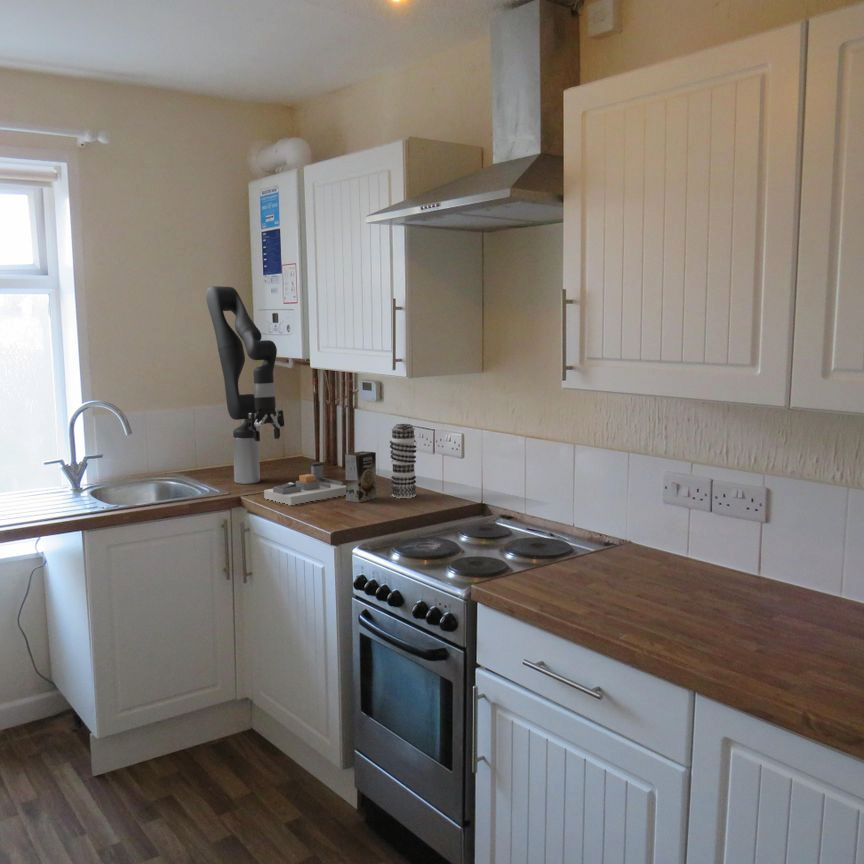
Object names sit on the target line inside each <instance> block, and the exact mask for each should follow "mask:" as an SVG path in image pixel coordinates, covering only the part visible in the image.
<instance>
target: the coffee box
mask: <svg viewBox="0 0 864 864" xmlns="http://www.w3.org/2000/svg"><path fill="white" fill-rule="evenodd" d="M344 455H345V460H344V461H345V485H346V496H345V501H346V502H347V501H348V502H352V503H358V504H359V503H363V502H366V501H367V500H368V501H371V500H370V499H372V500H375V499H374V498H376V499H377V458H376V457H377V452H375V451H363V450H362V451H357V452H350V453H345V454H344Z"/></svg>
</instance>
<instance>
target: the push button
mask: <svg viewBox="0 0 864 864" xmlns="http://www.w3.org/2000/svg"><path fill="white" fill-rule="evenodd" d="M298 478H299V480H298V481H299V482H303V483H309V482H315V481H316V475H311V473H306V474H300V475H299V477H298Z"/></svg>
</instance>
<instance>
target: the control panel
mask: <svg viewBox="0 0 864 864" xmlns="http://www.w3.org/2000/svg"><path fill="white" fill-rule="evenodd" d="M295 483H296V487H291V488H285V489H282V488H278V486H279V485H276V486H273V487H272V488H268V489H264V490H263V494H264V495H263V499H264V498H265V499H264V500H267V499H269V500H268V501H271V500H273V501H272V502H275V501H276V502H275V503H279V502H280V503H279V504H282V503H285V504H284V505H286V504H288V505H287V506H290V505H293V506H296V505H295V504H298V505H300V504H299V503H304V504H306V503H305V502H309V501H314V502H316V501H315V500H320V499H325V500H327V499H326V498H330V499H333V498H332V497H336V498H339V497H338V496H341V497H345V496H344V495H346V484H344V482H343V481H340V480H334V479H331V478H325V477H323V482H319V481H317V480H316V481H315V482H309V483H303V482H299V480H295ZM320 501H321V500H320ZM309 503H310V502H309Z"/></svg>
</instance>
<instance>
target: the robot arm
mask: <svg viewBox="0 0 864 864" xmlns="http://www.w3.org/2000/svg"><path fill="white" fill-rule="evenodd" d="M206 305H207V308H208V312H209V316H210V318H211V323H212V325H213V329H214V333H215V339H216V344H217V351H218V356H219V361H220V366H221V370H222V374H223V375H222V376H223V381H224V390H225V398H226V399H225V400H226V406H227V412H228V415H229V417H230V418H231V419H232V420H234V421H236V420H237V421H239V420H244V421H243V423H241V425H239V426H238V427H236V428H234V429H233V432H232V433H233V434H232V437H233V458H232V459H233V480H234V481H233V482H234V483H236V484H242V485H243V484H244V485H247V484H256V483H259V482H260V481H261V479H260V475H261V474H260V446H259V445H260V444H259V442H260V441H261V438H260V437H261V436H260V435H261V434H260V429H261V427H262V426H263V425H264V424H265V425H266V424H270V425H272V427H273V435H274V436H273V438H274V440H278V439H280V436H281V428H282V427H285V419H284V417H285V416H284V411H283V409H277V410H276V408H277V406H276V405H277V404H276V402H277V401H276V392H275V391H276V389H275V383H274V382H275V381H274V380H275V379H274V369H275V363H276V358H277V354H278V353H277V352H278V349H277V346H276V343H275V342H274V341H273V340H270V339H268V340H266V339H265V340H262V332H261V331H260V330H259V328H258V326H257V325H256V324H255V323H254V321H253V319H252V318H251V317H250V315H249V313H248V311H247V309H246V306H245V305H244V303H243V300H242V298H241V296H240V294H239V293H238V291H237V290H236V289H235V287H232V286H220V285H219V286H218V285H217V286H210V287H208V288H207V290H206ZM224 312H232V313H233V314H234V315H235V321H234V329H235V330H234V329H233V328H232V327H231V325H230V324H229V323H228V321H227V318H226V315H225V313H224ZM243 344H244V345H243ZM244 347H245V350H244ZM245 351H246V355H247V356H248V358H249V359H251V360H252V361H263V362H262V364H261V365H260V366H257V367H255V368H254V369H253V393H248V394H247V393H246V394H240V390H239V380H240V377H241V373H242V371H243V369H244V366H245V361H246V355H245Z"/></svg>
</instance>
